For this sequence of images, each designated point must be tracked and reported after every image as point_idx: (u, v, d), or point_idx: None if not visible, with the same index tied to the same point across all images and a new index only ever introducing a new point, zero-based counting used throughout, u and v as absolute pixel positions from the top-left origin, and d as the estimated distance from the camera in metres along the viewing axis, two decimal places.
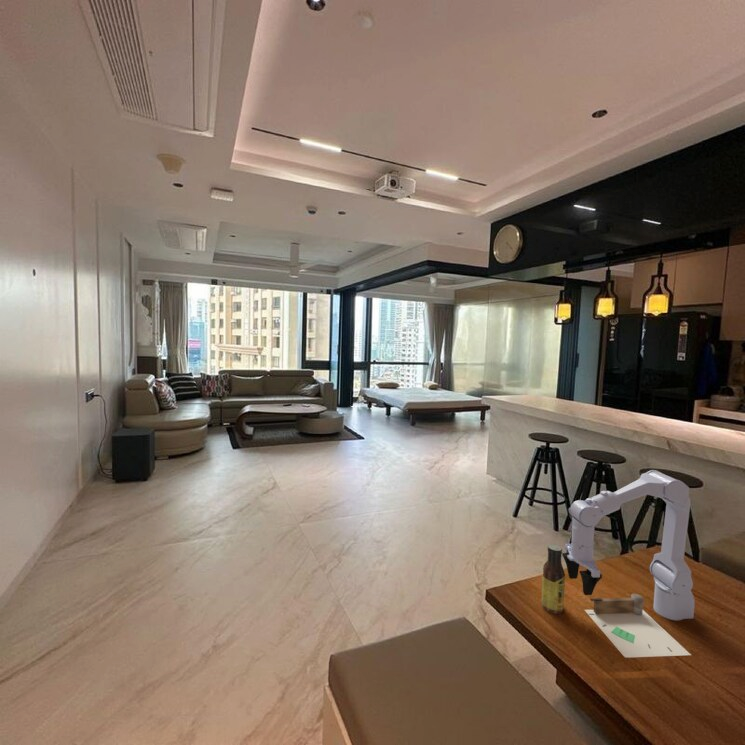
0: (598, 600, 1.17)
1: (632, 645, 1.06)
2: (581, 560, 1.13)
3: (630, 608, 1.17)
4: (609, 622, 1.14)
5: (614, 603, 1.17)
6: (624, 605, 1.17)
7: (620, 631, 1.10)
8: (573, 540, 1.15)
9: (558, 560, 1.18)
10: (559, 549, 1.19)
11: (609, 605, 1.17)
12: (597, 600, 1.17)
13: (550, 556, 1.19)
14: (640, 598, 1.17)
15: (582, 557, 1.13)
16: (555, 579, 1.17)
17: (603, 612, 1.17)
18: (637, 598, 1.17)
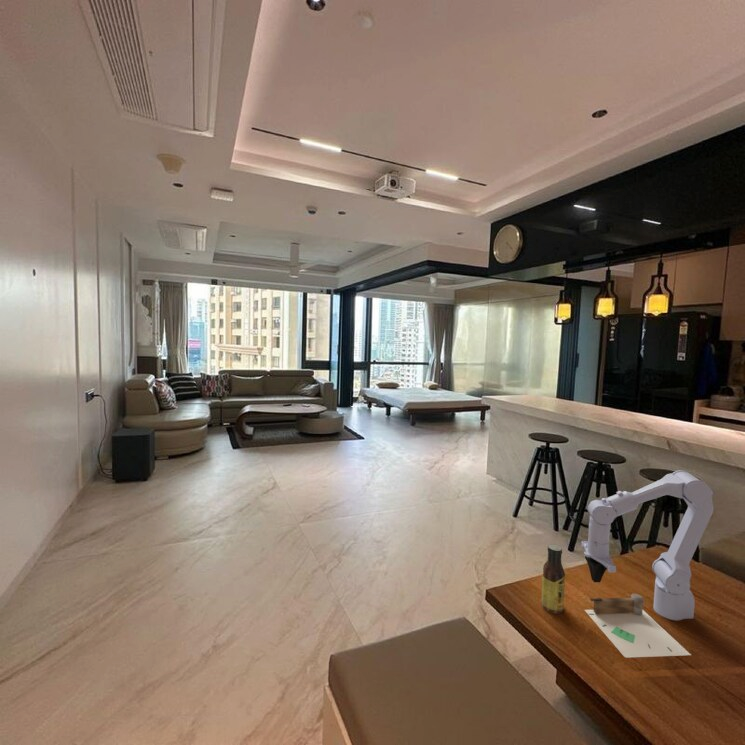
0: (598, 600, 1.17)
1: (632, 645, 1.06)
2: (597, 556, 1.20)
3: (630, 608, 1.17)
4: (609, 622, 1.14)
5: (614, 603, 1.17)
6: (624, 605, 1.17)
7: (620, 631, 1.10)
8: (588, 536, 1.22)
9: (558, 560, 1.18)
10: (559, 549, 1.19)
11: (609, 605, 1.17)
12: (597, 600, 1.17)
13: (550, 556, 1.19)
14: (640, 598, 1.17)
15: (599, 553, 1.20)
16: (555, 579, 1.17)
17: (603, 612, 1.17)
18: (637, 598, 1.17)
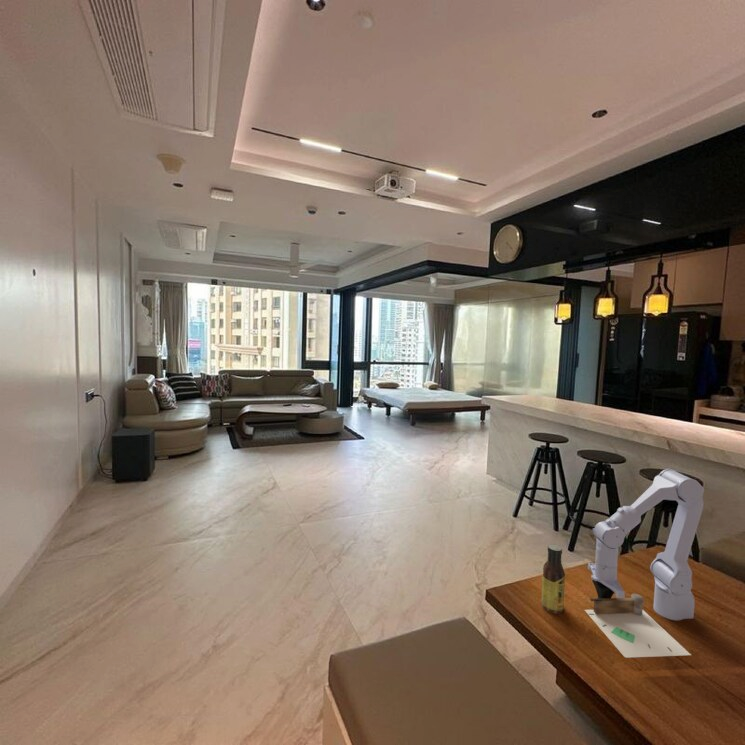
0: (598, 600, 1.17)
1: (632, 645, 1.06)
2: (605, 580, 1.16)
3: (630, 608, 1.17)
4: (609, 622, 1.14)
5: (614, 603, 1.17)
6: (624, 605, 1.17)
7: (620, 631, 1.10)
8: (597, 560, 1.18)
9: (558, 560, 1.18)
10: (559, 549, 1.19)
11: (609, 605, 1.17)
12: (597, 600, 1.17)
13: (550, 556, 1.19)
14: (640, 598, 1.17)
15: (607, 577, 1.16)
16: (555, 579, 1.17)
17: (603, 612, 1.17)
18: (637, 598, 1.17)
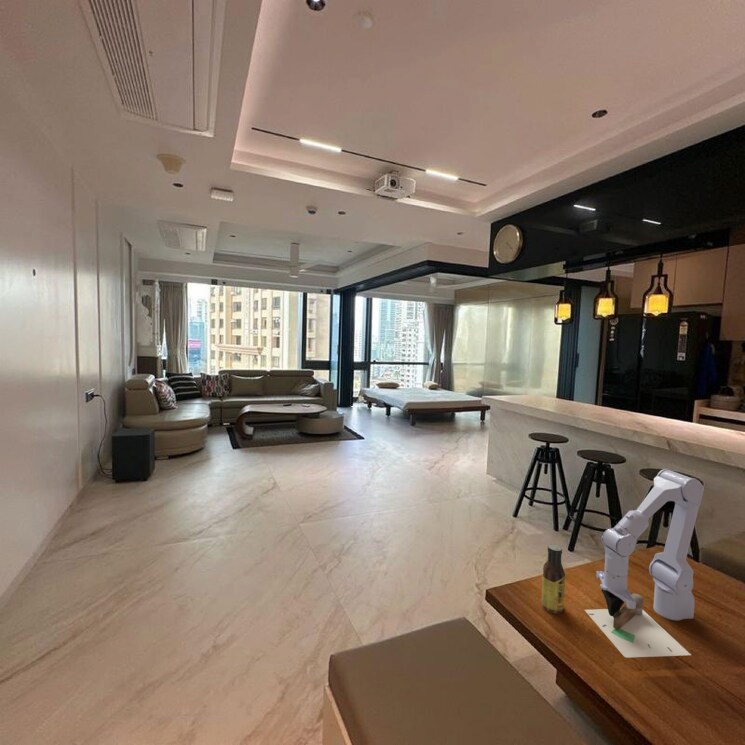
0: (619, 615, 1.11)
1: (632, 645, 1.06)
2: (615, 590, 1.12)
3: (635, 611, 1.16)
4: (609, 622, 1.14)
5: (627, 611, 1.13)
6: (632, 610, 1.15)
7: (620, 631, 1.10)
8: (607, 570, 1.13)
9: (558, 560, 1.18)
10: (559, 549, 1.19)
11: (625, 616, 1.12)
12: (618, 615, 1.10)
13: (550, 556, 1.19)
14: (640, 597, 1.17)
15: (617, 586, 1.12)
16: (555, 579, 1.17)
17: (621, 625, 1.12)
18: (639, 598, 1.17)
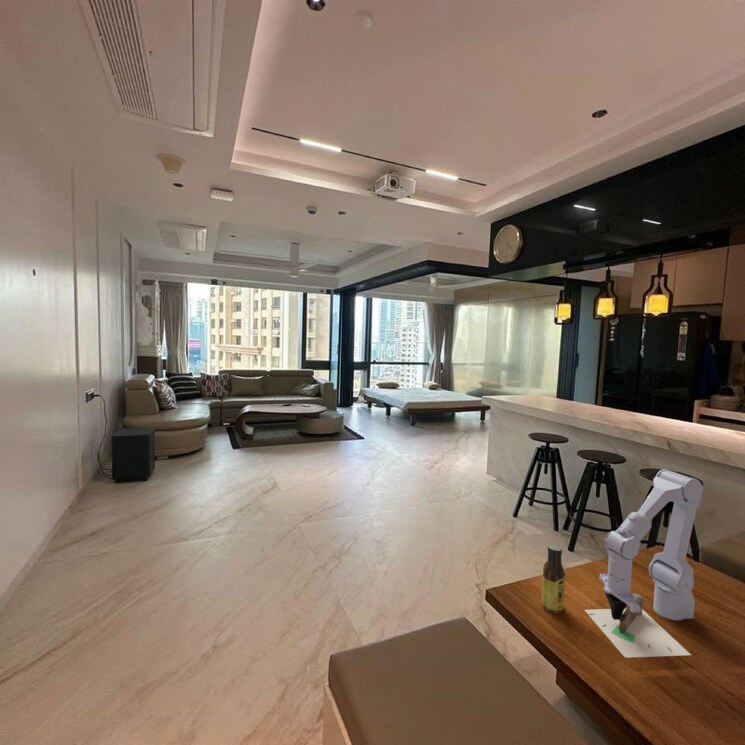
0: (624, 617, 1.09)
1: (632, 645, 1.06)
2: (619, 593, 1.10)
3: None
4: (609, 622, 1.14)
5: (631, 613, 1.12)
6: None
7: None
8: (612, 573, 1.12)
9: (558, 560, 1.18)
10: (559, 549, 1.19)
11: (629, 618, 1.12)
12: (624, 618, 1.09)
13: (550, 556, 1.19)
14: (640, 597, 1.17)
15: (620, 590, 1.10)
16: (555, 579, 1.17)
17: (626, 627, 1.11)
18: (639, 598, 1.17)
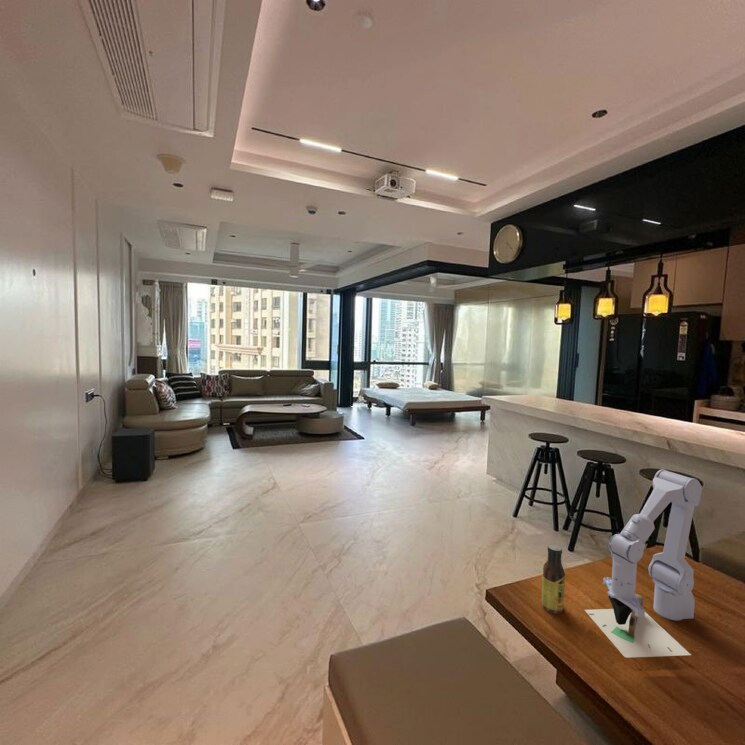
0: (633, 621, 1.08)
1: (632, 645, 1.06)
2: (623, 597, 1.09)
3: None
4: (609, 622, 1.14)
5: None
6: None
7: (620, 631, 1.10)
8: (617, 578, 1.09)
9: (558, 560, 1.18)
10: (559, 549, 1.19)
11: (635, 620, 1.11)
12: (633, 622, 1.08)
13: (550, 556, 1.19)
14: (640, 597, 1.18)
15: (625, 594, 1.08)
16: (555, 579, 1.17)
17: (634, 631, 1.09)
18: (639, 598, 1.17)
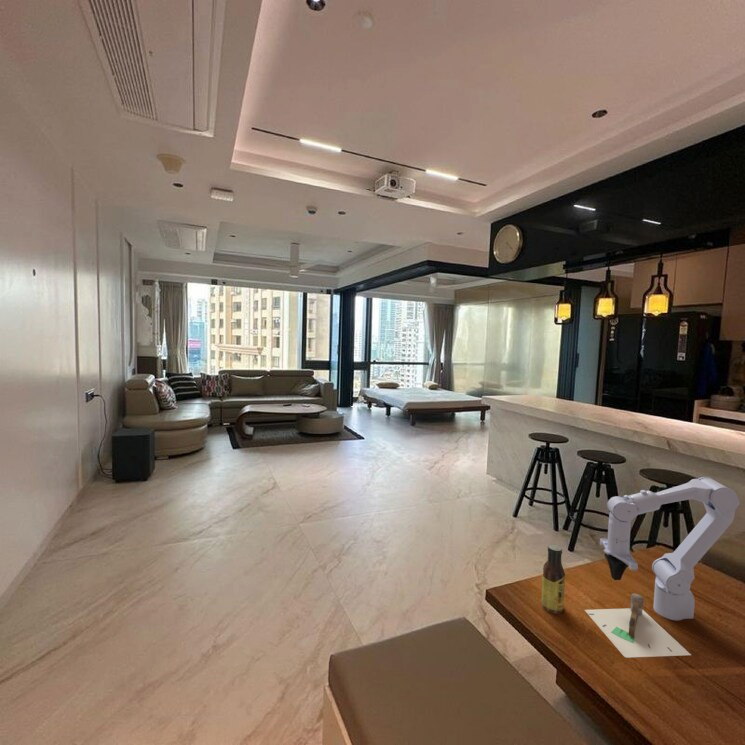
0: (634, 621, 1.08)
1: (632, 645, 1.06)
2: (618, 554, 1.18)
3: (638, 611, 1.16)
4: (609, 622, 1.14)
5: (636, 615, 1.12)
6: (637, 612, 1.14)
7: (620, 631, 1.10)
8: (608, 533, 1.20)
9: (558, 560, 1.18)
10: (559, 549, 1.19)
11: None
12: (633, 622, 1.08)
13: (550, 556, 1.19)
14: (640, 597, 1.18)
15: (619, 550, 1.18)
16: (555, 579, 1.17)
17: (634, 631, 1.09)
18: (639, 598, 1.17)
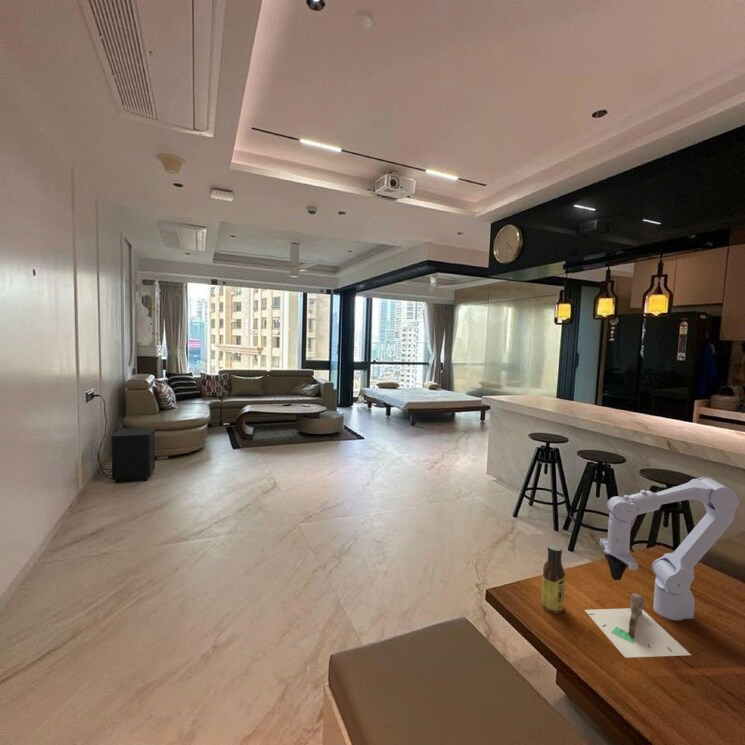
0: (634, 621, 1.08)
1: (632, 645, 1.06)
2: (618, 554, 1.18)
3: (638, 611, 1.16)
4: (609, 622, 1.14)
5: (636, 615, 1.12)
6: (637, 612, 1.14)
7: (620, 631, 1.10)
8: (608, 533, 1.20)
9: (558, 560, 1.18)
10: (559, 549, 1.19)
11: None
12: (633, 622, 1.08)
13: (550, 556, 1.19)
14: (640, 597, 1.18)
15: (619, 550, 1.18)
16: (555, 579, 1.17)
17: (634, 631, 1.09)
18: (639, 598, 1.17)
